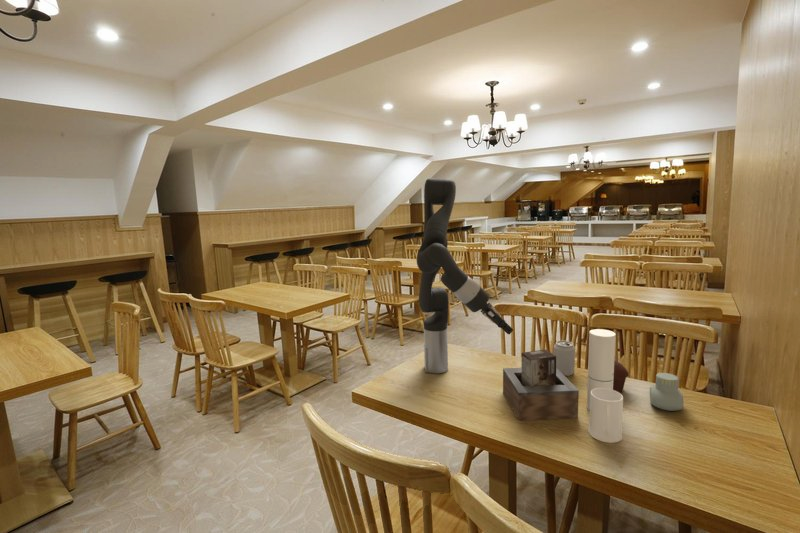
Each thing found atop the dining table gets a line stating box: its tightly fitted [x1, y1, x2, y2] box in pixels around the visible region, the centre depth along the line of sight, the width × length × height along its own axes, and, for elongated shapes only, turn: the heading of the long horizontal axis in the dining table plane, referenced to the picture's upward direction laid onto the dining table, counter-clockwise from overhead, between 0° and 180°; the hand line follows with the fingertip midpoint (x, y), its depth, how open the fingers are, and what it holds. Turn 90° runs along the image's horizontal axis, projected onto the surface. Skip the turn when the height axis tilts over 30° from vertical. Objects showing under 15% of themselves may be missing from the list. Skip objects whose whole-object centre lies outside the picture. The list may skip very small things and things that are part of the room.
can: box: [553, 340, 576, 377], centre depth 152 cm, size 8×8×12 cm
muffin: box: [613, 359, 630, 394], centre depth 138 cm, size 12×11×10 cm
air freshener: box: [649, 372, 685, 412], centre depth 125 cm, size 11×8×10 cm
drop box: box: [502, 367, 580, 422], centre depth 129 cm, size 18×18×9 cm
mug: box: [587, 388, 624, 444], centre depth 110 cm, size 12×8×12 cm
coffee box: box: [521, 349, 556, 387], centre depth 129 cm, size 9×6×16 cm
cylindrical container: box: [586, 328, 616, 412], centre depth 124 cm, size 7×7×25 cm
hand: (507, 327), depth 126 cm, fingers open, 8 cm apart
